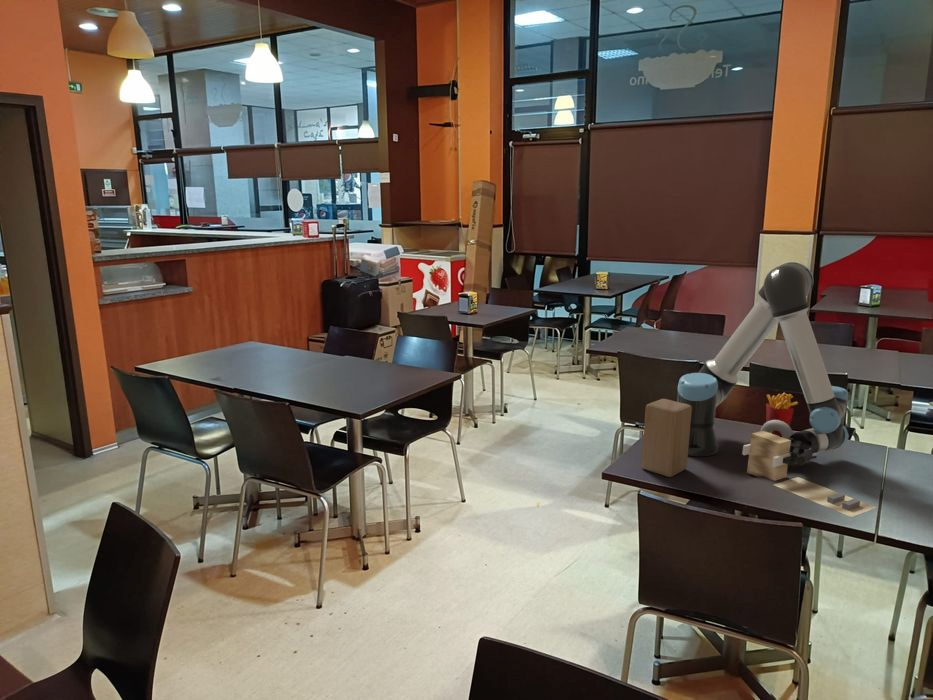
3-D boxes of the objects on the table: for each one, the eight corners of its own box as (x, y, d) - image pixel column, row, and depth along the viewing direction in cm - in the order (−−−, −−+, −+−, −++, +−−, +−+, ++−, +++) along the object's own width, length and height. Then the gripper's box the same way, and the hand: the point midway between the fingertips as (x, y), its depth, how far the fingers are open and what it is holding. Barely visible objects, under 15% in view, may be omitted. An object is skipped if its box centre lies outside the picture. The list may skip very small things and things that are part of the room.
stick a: (827, 501, 176) (827, 496, 176) (838, 497, 179) (839, 492, 178) (832, 504, 175) (833, 499, 175) (844, 499, 177) (845, 495, 177)
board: (772, 489, 187) (773, 484, 186) (797, 481, 192) (797, 476, 192) (850, 522, 168) (851, 517, 168) (875, 512, 174) (876, 507, 173)
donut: (756, 447, 218) (760, 418, 216) (760, 444, 221) (763, 415, 218) (789, 455, 212) (793, 425, 210) (793, 452, 214) (796, 422, 212)
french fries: (762, 430, 234) (767, 388, 231) (785, 430, 234) (790, 388, 231) (774, 439, 225) (779, 396, 222) (798, 439, 226) (804, 396, 222)
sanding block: (746, 472, 197) (751, 433, 194) (758, 469, 199) (762, 430, 197) (774, 484, 189) (779, 443, 187) (785, 480, 192) (791, 440, 189)
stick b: (842, 507, 173) (842, 502, 173) (853, 503, 175) (854, 498, 175) (848, 510, 172) (848, 505, 171) (859, 505, 174) (860, 500, 174)
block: (639, 468, 200) (644, 404, 196) (657, 460, 207) (662, 397, 202) (670, 479, 193) (676, 411, 189) (687, 469, 200) (693, 404, 195)
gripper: (841, 467, 193) (792, 482, 182) (773, 442, 212) (725, 455, 200) (845, 442, 192) (795, 456, 181) (776, 420, 210) (727, 431, 199)
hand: (758, 456), depth 190 cm, fingers closed on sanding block, 9 cm apart
